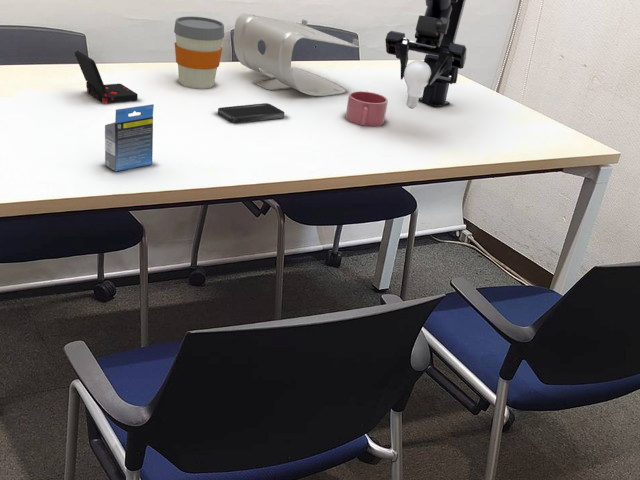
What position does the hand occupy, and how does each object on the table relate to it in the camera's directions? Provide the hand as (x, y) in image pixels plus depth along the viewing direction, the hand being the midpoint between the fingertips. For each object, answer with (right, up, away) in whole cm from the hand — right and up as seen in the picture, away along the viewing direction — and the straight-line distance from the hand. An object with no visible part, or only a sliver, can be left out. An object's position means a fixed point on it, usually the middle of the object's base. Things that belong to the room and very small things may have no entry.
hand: (415, 81), depth 203 cm
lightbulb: (0, -5, +5) cm, 7 cm away
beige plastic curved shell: (-29, +11, +35) cm, 46 cm away
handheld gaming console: (-73, -2, +6) cm, 73 cm away
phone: (-38, -6, +7) cm, 39 cm away
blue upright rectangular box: (-61, -26, -28) cm, 72 cm away
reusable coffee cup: (-53, +7, +24) cm, 59 cm away
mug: (-11, -5, +14) cm, 18 cm away
